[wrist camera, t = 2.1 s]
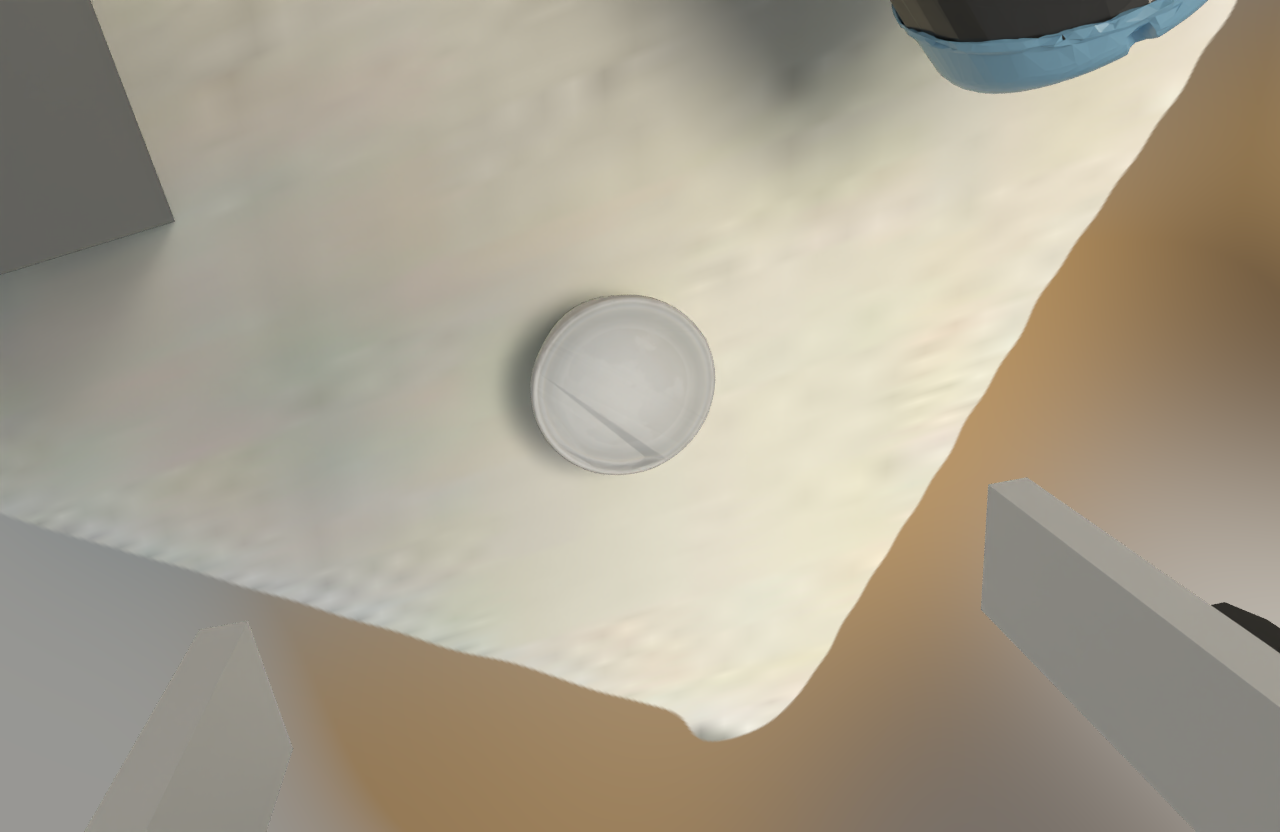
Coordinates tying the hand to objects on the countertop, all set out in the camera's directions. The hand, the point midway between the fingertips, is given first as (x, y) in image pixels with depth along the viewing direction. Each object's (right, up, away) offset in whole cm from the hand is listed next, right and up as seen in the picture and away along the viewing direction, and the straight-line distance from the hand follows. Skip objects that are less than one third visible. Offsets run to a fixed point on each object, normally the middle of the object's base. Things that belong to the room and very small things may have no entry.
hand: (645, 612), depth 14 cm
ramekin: (-2, +7, +39) cm, 39 cm away
